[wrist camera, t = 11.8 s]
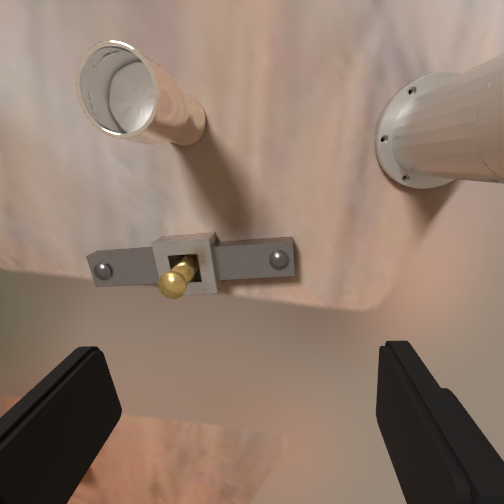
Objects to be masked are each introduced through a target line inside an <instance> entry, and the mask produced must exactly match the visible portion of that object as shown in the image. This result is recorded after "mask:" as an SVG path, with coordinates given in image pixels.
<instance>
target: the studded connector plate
mask: <svg viewBox="0 0 504 504" xmlns="http://www.w3.org/2000/svg"><path fill="white" fill-rule="evenodd" d="M184 254H197V255H198V261H199V267H200V273H196V274H195V275H194V277H193V278H192V279H191V281H190V282H189V283H188V285H187V289H186V291H185V293H184V294H183V295H197V294H217V293H218V291H219V289H220V287H221V284H222V280H232V279H250V278H268V277H286V276H295V270H294V252H293V239H292V237H282V238H268V239H254V240H241V241H227V242H216V237H215V232H213V233H200V234H187V235H174V236H162V237H161V238H159V239H157V240H156V241H154V242H153V243H152V247H145V248H131V249H117V250H104V251H96V252H94V253H92V254H90V255H88V256H86V257H87V260H88V263H89V266H90V270H91V273H92V276H93V279H94V283H95V286H96V287H105V286H123V285H142V284H158V280H159V278H160V277H161V276H162V275H163V274H164V273H166V272H168V271H171V270H172V269H173V268H174V267H175V266H176V265H177V264H178V263H179V262H180V261H179V256H178V255H184ZM163 296H164V295H163Z"/></svg>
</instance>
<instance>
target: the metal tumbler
mask: <svg viewBox="0 0 504 504" xmlns="http://www.w3.org/2000/svg"><path fill="white" fill-rule="evenodd" d="M76 91H77V96H78V99H79V103H80V105H81V107H82V109H83V111H84V113H85V115H86V116H87V118H88V119H89V120H90V121H91V123H92V124H93V125H94V126H95V127H97V128H98V129H99V130H100V131H102V132H104V133H105V134H107V135H110V136H113V137H117V138H121V139H124V140H128V141H131V142H135V143H140V144H150V145H156V144H163V143H167V142H170V141H171V142H173V143H175V144H177V145H182V146H187V145H191V144H193V143H195V142H197V141H198V140H199V139H200V138H201V136H202V135H203V133H204V130H205V126H206V117H205V113H204V110H203V108H202V106H201V104H200V103H199V102H198V101H197V100H196V99H195V98H194V97H192V96H191V95H188V94H185V93H184V92H183V90H182V89H181V87H180V85H179V84H178V83H177V81H176V80H175V79H174V77H173V76H172V75H171V74H170V73H169V72H168V71H167V70H165V69H164V68H163V67H162V66H161V65H160V64H158V63H157V62H155V61H154V60H153V59H151V58H150V57H148V56H146V55H145V54H143V53H141V52H139V51H138V50H137V49H135V48H134V47H132V46H131V45H129V44H126V43H124V42H121V41H115V40H107V41H102V42H99V43H97V44H95V45H93V46H92V47H91V48H90V49H88V50H87V52H86V53H85V54H84V55H83V57H82V59H81V61H80V63H79V65H78V69H77V74H76Z"/></svg>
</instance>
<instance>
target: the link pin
mask: <svg viewBox="0 0 504 504" xmlns="http://www.w3.org/2000/svg"><path fill="white" fill-rule="evenodd" d="M199 269H200V267H199V261H198V255H197V254H187V255H186V256H185V257H184V258H183V259H182V260H181V261H180V262H179V263H178V264H177V265H176V266H175V267H174V268H173V269H172V270H171V271H168V272H166V273H164V274H163V275H162V276H161V277H160V278H159V280H158V288H159V290H160V292H161V293H162V294H163V295H164V296H165V297H167V298H171V299H177V298H179V297H181V296H182V295H183V294H184V293H185V291H186V289H187V285H188V283H189V282H190V281H191V279H192V278H193V277H194V275H195V274H196V273H197V271H198V270H199Z"/></svg>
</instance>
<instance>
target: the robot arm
mask: <svg viewBox="0 0 504 504" xmlns="http://www.w3.org/2000/svg"><path fill="white" fill-rule="evenodd" d="M408 90H410V91H411V94H410V95H409V93H408ZM381 138H384V141H383V142H381ZM375 149H376V155H377V158H378V161H379V164H380V165H381V167H382V169H383V171H384V172H385V173H386V174H387V175H388V176H389V177H390V178H391V179H393V180H394V181H395V182H397V183H399V184H402V185H404V186H407V187H411V188H419V189H427V188H435V187H439V186H443V185H445V184H447V183H450V182H452V181H454V180H456V179H462V180H472V181H484V182H493V183H504V54H502V55H500V56H497V57H495V58H493V59H491V60H489V61H487V62H485V63H483V64H481V65H479V66H477V67H475V68H473V69H471V70H469V71H467V72H465V73H457V72H452V71H447V72H437V73H432V74H428V75H426V76H423V77H421V78H419V79H417V80H415V81H413V82H412V83H410V84H408V85H407V86H406V87H404V88H403V89H402V90H401V91H399V92H398V93H397V94H396V95H395V96H394V98H393V99H392V100H391V101H390V102H389V104H388V105H387V107H386V108H385V110H384V111H383V113H382V116H381V118H380V120H379V122H378V126H377V130H376V136H375ZM403 176H405V178H404V179H403V180H402V177H403ZM121 413H122V408H121V405H120V402H119V400H118V396H117V393H116V390H115V387H114V384H113V381H112V378H111V375H110V372H109V369H108V366H107V363H106V360H105V357H104V354H103V352H102V351H100V349H99V348H98V347H95V346H94V347H93V346H91V347H79V348H77V349H75V350H74V351H73V352H72V353H71V354H70V355H69V356H68V357H66V358H65V359H64V360H63V361H62V362H61V363H60V364H59V365H58V366H57V367H56V368H55V369H54V370H52V371H51V372H50V373H49V374H48V375H47V376H46V377H45V378H44V379H43V380H41V381H40V382H39V383H38V384H37V385H36V386H35V387H34V388H33V389H32V390H30V391H29V392H28V393H27V394H26V395H25V396H24V397H23V398H22V399H21V400H19V401H18V402H17V403H16V404H15V405H14V406H13V407H12V408H11V409H10V410H9V411H7V412H6V413H5V414H4V415H3V416H2V417H1V418H0V504H67V502H68V501H69V499H70V497H71V496H72V494H73V493H74V491H75V490H76V488H77V486H78V485H79V483H80V482H81V480H82V478H83V477H84V475H85V474H86V472H87V470H88V469H89V467H90V466H91V464H92V462H93V461H94V459H95V458H96V456H97V454H98V453H99V451H100V450H101V448H102V446H103V445H104V443H105V442H106V440H107V439H108V437H109V435H110V434H111V432H112V431H113V429H114V427H115V426H116V424H117V423H118V421H119V419H120V417H121ZM376 417H377V422H378V425H379V428H380V431H381V434H382V436H383V439H384V442H385V444H386V447H387V450H388V453H389V455H390V458H391V461H392V464H393V467H394V469H395V472H396V475H397V477H398V480H399V483H400V486H401V489H402V491H403V494H404V497H405V500H406V502H407V504H504V461H503V460H502V459H501V457H500V456H499V454H498V453H497V452H496V450H495V449H494V448H493V446H492V445H491V444H490V442H489V441H488V440H487V438H486V437H485V435H484V434H483V433H482V431H481V430H480V429H479V427H478V426H477V425H476V423H475V422H474V421H473V419H472V418H471V416H470V415H469V414H468V412H467V411H466V410H465V408H464V407H463V406H462V404H461V403H460V402H459V400H458V399H457V397H456V396H455V395H454V394H453V393H452V392H451V391H450V390H449V389H447V388H441V387H440V386H439V385H438V383H437V382H436V380H435V379H434V377H433V376H432V375H431V373H430V372H429V370H428V369H427V367H426V366H425V364H424V363H423V362H422V360H421V359H420V357H419V356H418V354H417V353H416V352H415V350H414V349H413V347H412V346H411V344H410V343H409V342H408V341H387V342H386V343H385V346H381V347H380V349H379V365H378V384H377V403H376Z"/></svg>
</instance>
